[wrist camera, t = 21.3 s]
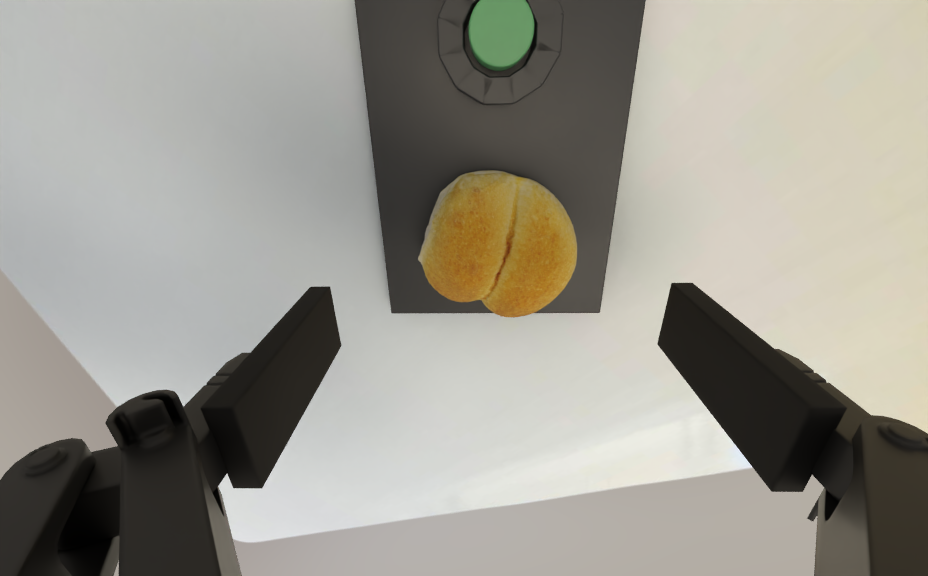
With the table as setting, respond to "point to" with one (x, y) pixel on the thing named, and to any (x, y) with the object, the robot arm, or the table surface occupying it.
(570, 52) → the scale
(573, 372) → the table surface
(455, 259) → the bread roll
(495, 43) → the button
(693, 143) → the table surface
